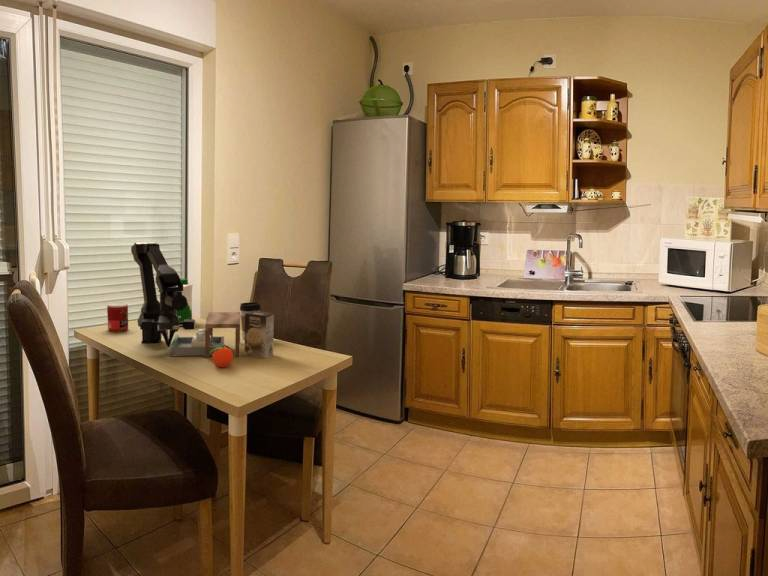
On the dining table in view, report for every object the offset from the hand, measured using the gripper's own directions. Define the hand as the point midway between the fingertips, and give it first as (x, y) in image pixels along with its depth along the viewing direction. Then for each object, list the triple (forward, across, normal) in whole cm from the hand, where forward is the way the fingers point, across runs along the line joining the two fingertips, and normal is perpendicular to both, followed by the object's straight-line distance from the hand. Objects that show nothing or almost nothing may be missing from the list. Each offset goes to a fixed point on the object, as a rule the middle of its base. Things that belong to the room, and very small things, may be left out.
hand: (168, 346), depth 215 cm
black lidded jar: (+2, +30, +17) cm, 34 cm away
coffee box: (+2, +33, -8) cm, 34 cm away
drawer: (+1, +11, 0) cm, 11 cm away
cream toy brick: (0, +12, 0) cm, 12 cm away
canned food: (+2, -25, +35) cm, 43 cm away
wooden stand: (+2, +20, 0) cm, 20 cm away
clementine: (+2, +20, -22) cm, 30 cm away
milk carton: (+2, -1, +45) cm, 45 cm away
